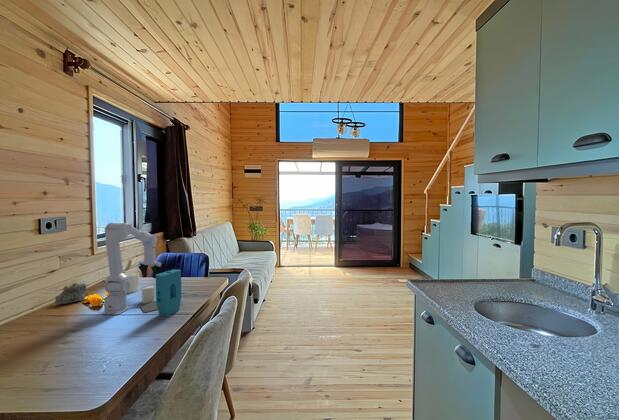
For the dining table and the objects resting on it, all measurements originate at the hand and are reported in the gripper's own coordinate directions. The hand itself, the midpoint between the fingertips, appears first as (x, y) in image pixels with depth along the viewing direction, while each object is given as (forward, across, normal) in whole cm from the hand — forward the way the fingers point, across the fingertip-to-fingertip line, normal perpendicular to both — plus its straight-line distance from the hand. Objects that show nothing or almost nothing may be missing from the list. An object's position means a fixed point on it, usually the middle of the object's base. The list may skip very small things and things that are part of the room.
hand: (150, 277), depth 171 cm
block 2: (+10, -31, +19) cm, 38 cm away
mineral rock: (+10, +31, +22) cm, 39 cm away
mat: (+10, -17, +15) cm, 25 cm away
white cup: (+10, +15, -2) cm, 18 cm away
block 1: (+6, -9, +10) cm, 15 cm away
